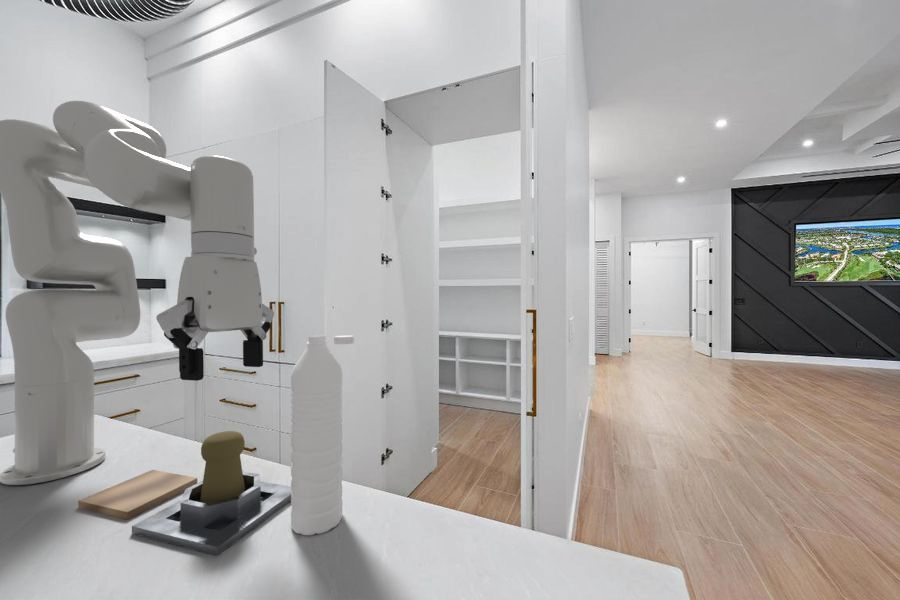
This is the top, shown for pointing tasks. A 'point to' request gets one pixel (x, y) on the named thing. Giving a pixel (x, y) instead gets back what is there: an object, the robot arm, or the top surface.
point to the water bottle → (316, 438)
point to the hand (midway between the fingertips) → (225, 372)
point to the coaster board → (137, 494)
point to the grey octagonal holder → (214, 516)
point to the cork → (222, 466)
